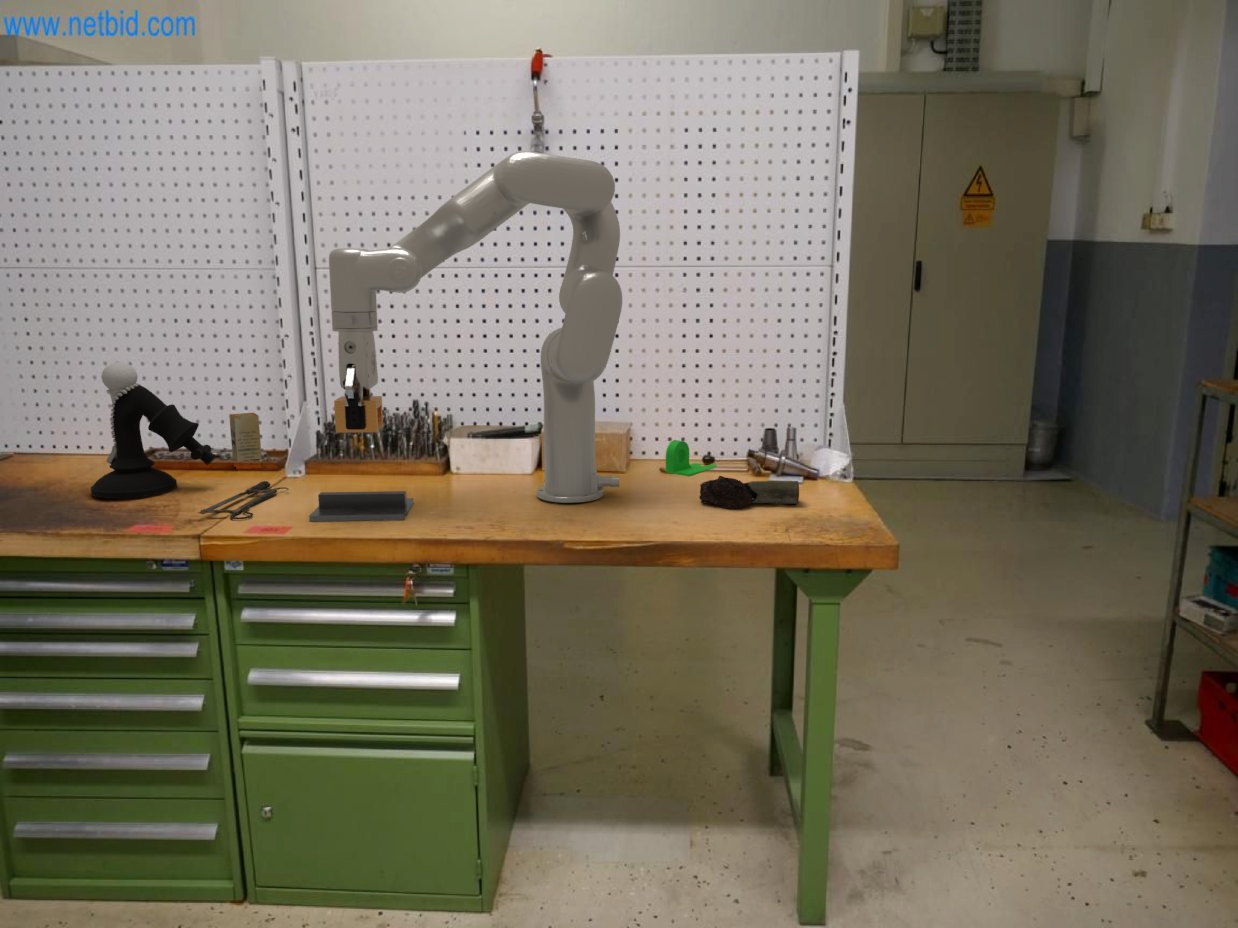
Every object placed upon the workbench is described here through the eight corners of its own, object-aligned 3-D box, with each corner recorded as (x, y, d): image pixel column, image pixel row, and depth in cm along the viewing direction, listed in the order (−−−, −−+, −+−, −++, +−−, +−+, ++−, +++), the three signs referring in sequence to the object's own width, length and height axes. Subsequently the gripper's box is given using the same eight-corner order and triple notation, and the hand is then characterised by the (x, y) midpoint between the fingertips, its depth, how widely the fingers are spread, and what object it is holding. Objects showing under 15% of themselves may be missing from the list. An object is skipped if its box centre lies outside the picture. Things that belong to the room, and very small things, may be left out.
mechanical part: (689, 483, 194) (689, 445, 192) (665, 479, 197) (666, 441, 196) (721, 474, 203) (722, 437, 201) (698, 470, 206) (699, 434, 205)
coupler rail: (413, 503, 176) (412, 484, 175) (403, 519, 164) (403, 500, 163) (325, 504, 175) (324, 486, 174) (309, 521, 163) (308, 501, 162)
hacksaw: (262, 486, 188) (261, 479, 188) (310, 485, 186) (309, 478, 186) (191, 521, 165) (190, 513, 164) (245, 520, 163) (244, 512, 163)
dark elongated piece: (796, 501, 175) (795, 471, 174) (800, 509, 168) (800, 478, 167) (699, 503, 176) (699, 473, 175) (700, 511, 169) (700, 480, 168)
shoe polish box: (257, 466, 209) (253, 412, 206) (262, 470, 205) (258, 415, 202) (233, 469, 206) (229, 414, 204) (238, 473, 202) (233, 417, 200)
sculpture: (114, 481, 194) (101, 358, 189) (232, 480, 195) (222, 358, 190) (75, 498, 179) (60, 366, 174) (202, 498, 180) (191, 366, 175)
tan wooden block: (383, 426, 170) (381, 396, 168) (377, 432, 164) (375, 400, 163) (343, 427, 169) (341, 396, 168) (335, 432, 163) (334, 400, 162)
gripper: (367, 325, 155) (372, 434, 158) (385, 320, 171) (389, 418, 175) (320, 325, 154) (326, 434, 158) (343, 319, 171) (348, 418, 174)
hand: (359, 425), depth 166 cm, fingers closed on tan wooden block, 6 cm apart
